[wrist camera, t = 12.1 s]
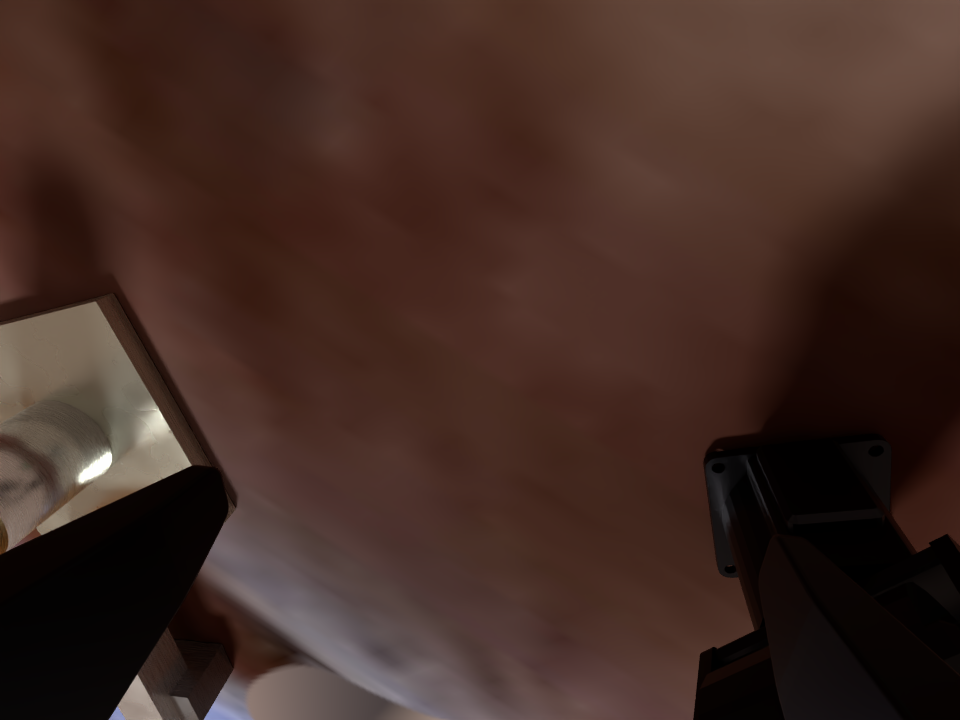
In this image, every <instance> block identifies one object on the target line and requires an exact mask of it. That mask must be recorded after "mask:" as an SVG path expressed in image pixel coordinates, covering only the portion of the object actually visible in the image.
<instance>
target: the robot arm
mask: <svg viewBox="0 0 960 720" xmlns="http://www.w3.org/2000/svg"><path fill="white" fill-rule="evenodd" d="M876 445H878V447H877V448H876V449H874V450H869V449H870V448H871V447H872V446H876ZM891 451H892V449H891V445H890V444H889V443H888V442H887V440H886V439H885V438H884V437H883V436H881V435H879V434H866V435H857V436H848V437H840V438H831V439H830V438H826V439H818V440H809V441H800V442H792V443H783V444H774V445H766V446H761V447H753V448H744V449H736V450H727V451H718V452H713V453H710V454H708V455H707V456H706V457H705V458H704V462H703V465H704V472H705V480H706V487H707V495H708V502H709V510H710V517H711V525H712V532H713V540H714V547H715V555H716V562H717V566H718V570H719V572H720V574H721V575H723V576H725V577H730V578H734V577H739V580H740V584H741V587H742V590H743V594H744V597H745V600H746V604H747V607H748V610H749V614H750V617H751V620H752V623H753V627H754V630H755V631H753V632H751V633H749V634H747V635H745V636H743V637H741V638H739V639H737V640H735V641H733V642H730V643H728V644H726V645H724V646H722V647H720V648H718V649H717V648H715V647H712V648H710V649H708V650H706V651H704V652H702V653H701V654H700V661H699V670H698V680H697V690H696V699H695V709H694V718H693V720H960V546H959V545H958V544H957V543H956V542H955V541H954V540H953V539H952V538H951V537H950V536H949V535H948V534H946V535H944V536H942V537H940V538H938V539H936V540H934V541H932V542H930V543H929V544H930V546H931V547H928V548H926V549H924V550H922V551H920V552H918V553H917V552H916V550H915V549H914V547H913V546H912V544H911V543H910V541H909V540H908V539H907V537H906V536H905V534H904V533H903V531H902V530H901V528H900V527H899V526H898V524H897V523H896V521H895V520H894V518H893V517H892V515H891V514H890V482H891ZM716 463H722V465H721V466H719V467H713V465H714V464H716ZM228 510H229V503H228V498H227V494H226V491H225V487H224V483H223V479H222V475H221V472H220V471H219V470H218V468H216V467H212V466H204V465H192V466H189V467H187V468H185V469H183V470H181V471H179V472H177V473H174V474H172V475H170V476H168V477H166V478H164V479H161V480H159V481H157V482H155V483H153V484H151V485H149V486H146V487H144V488H142V489H140V490H138V491H136V492H133V493H131V494H129V495H127V496H125V497H123V498H121V499H118V500H116V501H114V502H112V503H110V504H108V505H105V506H103V507H101V508H99V509H97V510H95V511H93V512H90V513H88V514H86V515H84V516H82V517H80V518H77V519H75V520H73V521H71V522H69V523H67V524H65V525H62V526H60V527H58V528H56V529H54V530H52V531H49V532H47V533H45V534H43V535H41V536H39V537H37V538H34V539H32V540H30V541H28V542H26V543H24V544H21V545H19V546H17V547H15V548H13V549H11V550H9V551H6V552H4V553H2V554H0V720H109V718H110V717H111V715H112V714H113V712H114V711H115V709H116V707H117V706H118V704H119V703H120V701H121V700H122V698H123V696H124V695H125V693H126V692H127V690H128V688H129V687H130V685H131V684H132V682H133V681H134V679H135V677H136V676H137V674H138V673H139V671H140V670H141V668H142V666H143V665H144V663H145V662H146V660H147V658H148V657H149V655H150V654H151V652H152V651H153V649H154V647H155V646H156V644H157V643H158V641H159V640H160V638H161V636H162V635H163V633H164V632H165V630H166V628H167V627H168V625H169V624H170V622H171V621H172V619H173V617H174V616H175V614H176V613H177V611H178V609H179V608H180V606H181V604H182V603H183V601H184V599H185V598H186V596H187V594H188V592H189V590H190V589H191V587H192V585H193V583H194V581H195V579H196V577H197V575H198V573H199V571H200V569H201V567H202V565H203V563H204V561H205V559H206V557H207V555H208V553H209V551H210V549H211V547H212V546H213V544H214V542H215V540H216V538H217V536H218V534H219V532H220V530H221V528H222V526H223V524H224V522H225V520H226V517H227V515H228ZM728 565H733V566H730V567H728Z"/></svg>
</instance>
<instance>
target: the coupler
mask: <svg viewBox="0 0 960 720" xmlns="http://www.w3.org/2000/svg"><path fill="white" fill-rule="evenodd" d="M111 460H112V453H111V448H110V444H109V442H108V440H107V438H106V436H105V434H104V433H103V431H102V430H101V428H100V427H99V426H98V425H97V424H96V423H95V422H94V421H93V420H92V419H91V418H90V417H89V416H88V415H86V414H85V413H84V412H82V411H81V410H79V409H77V408H76V407H74V406H72V405H70V404H67V403H64V402H60V401H56V400H42V401H39V402H36V403H35V404H33V405H31V406H29V407H28V408H26V409H24V410H22V411H21V412H19V413H17V414H15V415H14V416H12V417H10V418H9V419H7V420H5V421H3V422H2V423H0V554H2V553H4V552H6V551H8V550H9V549H11V548H12V547H13V546H14V545H16V544H17V543H18V542H19V541H21V540H22V539H23V538H24V537H26V536H27V535H28V534H29V533H31V532H32V531H33V530H34V529H35V528H37V527H38V526H39V525H40V524H42V523H43V522H44V521H45V520H47V519H48V518H49V517H50V516H52V515H53V514H54V513H55V512H57V511H58V510H59V509H60V508H61V507H63V506H64V505H65V504H66V503H68V502H69V501H70V500H71V499H73V498H74V497H75V496H76V495H78V494H79V493H80V492H81V491H83V490H84V489H85V488H86V487H88V486H89V485H90V484H91V483H92V482H94V481H95V480H96V479H97V478H99V477H100V476H101V475H102V474H104V473H105V472H106V471H107V470H108V468H109V467H110V464H111Z"/></svg>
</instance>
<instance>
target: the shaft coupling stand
mask: <svg viewBox="0 0 960 720" xmlns="http://www.w3.org/2000/svg"><path fill="white" fill-rule="evenodd" d="M42 400H56V401H60V402H64V403H67V404H70V405H72V406H74V407H76V408H77V409H79V410H81V411H82V412H84V413H85V414H86V415H88V416H89V417H90V418H91V419H92V420H93V421H94V422H95V423H96V424H97V425H98V426H99V427H100V428H101V430H102V431H103V433H104V434H105V436H106V438H107V440H108V442H109V444H110V448H111V453H112V460H111V464H110V467H109V468H108V470H107V471H106V472H105V473H104V474H102V475H101V476H100V477H99V478H97V479H96V480H95V481H94V482H92V483H91V484H90V485H89V486H88V487H86V488H85V489H84V490H83V491H81V492H80V493H79V494H78V495H76V496H75V497H74V498H73V499H71V500H70V501H69V502H68V503H66V504H65V505H64V506H63V507H61V508H60V509H59V510H58V511H57V512H55V513H54V514H53V515H52V516H50V517H49V518H48V519H47V520H45V521H44V522H43V523H42V524H40V525H39V526H38V527H37V528H36V529H37V530H38V531H39V533H40V534H41V535H43V534H45V533H47V532H49V531H52V530H54V529H56V528H58V527H60V526H62V525H65V524H67V523H69V522H71V521H73V520H75V519H77V518H80V517H82V516H84V515H86V514H88V513H90V512H93V511H95V510H97V509H99V508H101V507H103V506H105V505H108V504H110V503H112V502H114V501H116V500H118V499H121V498H123V497H125V496H127V495H129V494H131V493H133V492H136V491H138V490H140V489H142V488H144V487H146V486H149V485H151V484H153V483H155V482H157V481H159V480H161V479H164V478H166V477H168V476H170V475H172V474H174V473H177V472H179V471H181V470H183V469H185V468H187V467H189V466H192V465H204V466H211V464H210V462H209V460H208V459H207V457H206V455H205V453H204V452H203V450H202V448H201V446H200V445H199V443H198V441H197V439H196V437H195V436H194V434H193V432H192V430H191V429H190V427H189V425H188V423H187V422H186V420H185V418H184V416H183V415H182V413H181V411H180V409H179V407H178V406H177V404H176V402H175V400H174V399H173V397H172V395H171V393H170V392H169V390H168V388H167V386H166V385H165V383H164V381H163V379H162V377H161V376H160V374H159V372H158V370H157V369H156V367H155V365H154V363H153V362H152V360H151V358H150V356H149V355H148V353H147V351H146V349H145V347H144V346H143V344H142V342H141V340H140V339H139V337H138V335H137V333H136V332H135V330H134V328H133V326H132V324H131V323H130V321H129V319H128V317H127V316H126V314H125V312H124V310H123V309H122V307H121V305H120V303H119V302H118V300H117V298H116V296H115V294H114V293H112V294H109V295H105V296H101V297H97V298H93V299H89V300H85V301H81V302H77V303H73V304H69V305H65V306H62V307H58V308H54V309H50V310H46V311H42V312H38V313H34V314H30V315H26V316H22V317H19V318H15V319H11V320H7V321H3V322H0V423H2V422H3V421H5V420H7V419H9V418H10V417H12V416H14V415H15V414H17V413H19V412H21V411H22V410H24V409H26V408H28V407H29V406H31V405H33V404H35V403H36V402H39V401H42ZM225 491H226V490H225ZM226 494H227V492H226ZM227 498H228V503H229V510H228V515H227V517H226V520H225V522H226V521H227V519H228V518H229V517H230V516H231V514H232V513H233V512H234V511H235V509H236V508H235V506H234V505H233V503H232V501H231V499H230V497H229V496H228V494H227ZM225 522H224V523H225ZM232 671H233V668H232V665H231V663H230V661H229V659H228V656H227V654H226V652H225V650H224V647H223V645H222V644H216V643H206V642H196V641H185V640H175V639H173V637H172V635H171V633H170V631H169V629H168V627H167V628H166V630H165V632H164V633H163V635H162V636H161V638H160V640H159V641H158V643H157V644H156V646H155V647H154V649H153V651H152V652H151V654H150V655H149V657H148V658H147V660H146V662H145V663H144V665H143V666H142V668H141V670H140V671H139V673H138V674H137V676H136V677H135V679H134V681H133V682H132V684H131V685H130V687H129V688H128V690H127V692H126V693H125V695H124V696H123V698H122V700H121V701H120V703H119V704H118V707H119V709H120V711H121V712H122V714H123V716H124V717H125V719H126V720H204V718H205V716H206V715H207V713H208V711H209V710H210V708H211V706H212V705H213V703H214V701H215V700H216V698H217V696H218V694H219V693H220V691H221V689H222V688H223V686H224V684H225V683H226V681H227V679H228V678H229V676H230V674H231V673H232Z"/></svg>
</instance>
